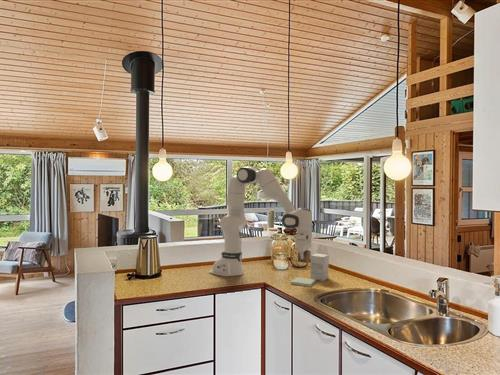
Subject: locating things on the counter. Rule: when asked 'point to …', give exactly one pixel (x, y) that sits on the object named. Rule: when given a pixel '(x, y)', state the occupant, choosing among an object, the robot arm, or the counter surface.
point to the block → (304, 257)
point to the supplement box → (319, 267)
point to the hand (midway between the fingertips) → (304, 257)
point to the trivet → (303, 281)
